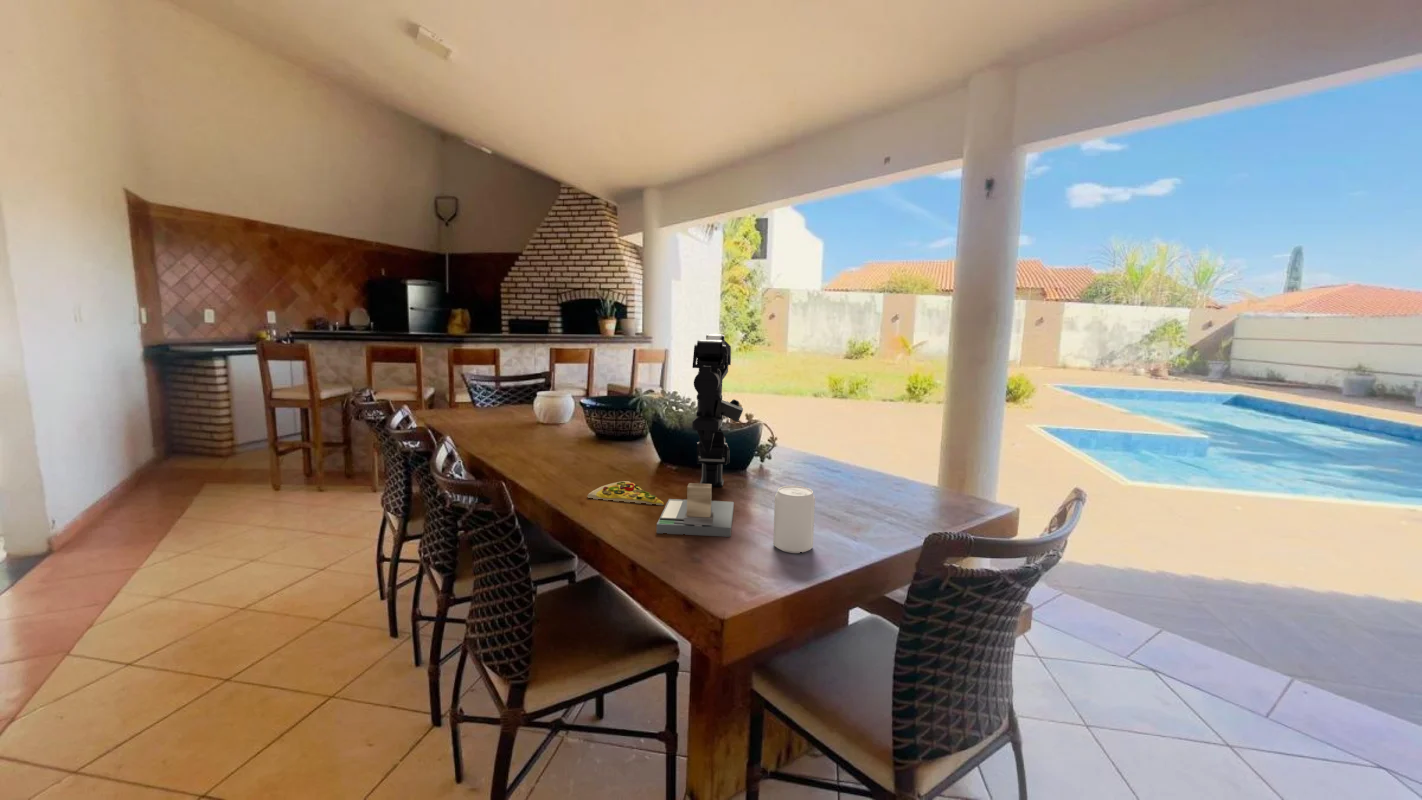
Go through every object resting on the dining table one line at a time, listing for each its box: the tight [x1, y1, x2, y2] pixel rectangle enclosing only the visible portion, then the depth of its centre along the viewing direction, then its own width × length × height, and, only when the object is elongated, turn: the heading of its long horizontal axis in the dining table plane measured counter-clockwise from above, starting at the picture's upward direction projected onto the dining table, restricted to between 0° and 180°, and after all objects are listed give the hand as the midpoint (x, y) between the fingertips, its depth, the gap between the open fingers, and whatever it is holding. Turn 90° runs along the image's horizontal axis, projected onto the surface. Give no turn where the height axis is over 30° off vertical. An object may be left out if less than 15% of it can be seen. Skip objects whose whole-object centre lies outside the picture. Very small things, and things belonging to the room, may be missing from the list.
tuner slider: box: [659, 482, 714, 525], centre depth 124 cm, size 5×12×8 cm, turn 86°
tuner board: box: [656, 498, 735, 538], centre depth 132 cm, size 18×16×2 cm
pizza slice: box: [586, 480, 665, 506], centre depth 148 cm, size 16×21×3 cm
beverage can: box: [772, 485, 816, 554], centre depth 117 cm, size 8×8×12 cm
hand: (707, 452), depth 144 cm, fingers closed
